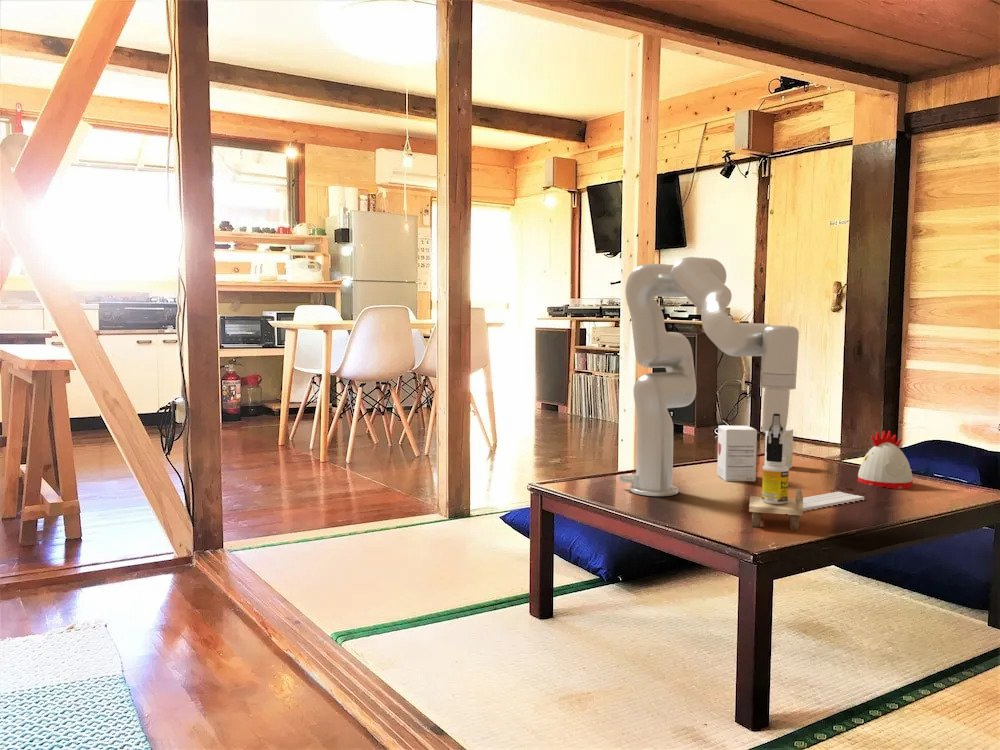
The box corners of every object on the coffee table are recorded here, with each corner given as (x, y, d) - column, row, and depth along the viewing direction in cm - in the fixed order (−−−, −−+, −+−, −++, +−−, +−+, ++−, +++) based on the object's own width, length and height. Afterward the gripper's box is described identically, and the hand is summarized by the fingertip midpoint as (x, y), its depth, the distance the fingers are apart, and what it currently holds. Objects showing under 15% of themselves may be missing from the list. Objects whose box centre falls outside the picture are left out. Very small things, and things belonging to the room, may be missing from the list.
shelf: (748, 527, 176) (749, 495, 176) (749, 516, 187) (750, 485, 186) (802, 531, 173) (803, 499, 172) (799, 519, 183) (800, 489, 183)
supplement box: (716, 475, 237) (717, 424, 236) (746, 475, 237) (747, 425, 236) (724, 481, 228) (726, 429, 227) (756, 481, 228) (757, 429, 227)
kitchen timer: (849, 479, 232) (851, 427, 231) (897, 479, 232) (899, 427, 231) (871, 488, 218) (873, 434, 217) (922, 489, 218) (924, 434, 217)
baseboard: (752, 508, 196) (786, 517, 188) (753, 497, 196) (787, 505, 188) (830, 495, 213) (864, 502, 204) (830, 484, 212) (865, 491, 204)
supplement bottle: (782, 506, 176) (783, 460, 175) (757, 502, 179) (758, 457, 179) (791, 502, 180) (793, 457, 179) (767, 498, 184) (768, 454, 183)
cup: (788, 470, 246) (789, 431, 245) (761, 467, 250) (762, 429, 249) (794, 466, 252) (795, 428, 252) (768, 463, 257) (769, 426, 256)
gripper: (760, 377, 187) (756, 449, 189) (760, 384, 171) (755, 463, 172) (794, 378, 185) (790, 452, 186) (797, 386, 168) (792, 466, 170)
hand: (773, 457), depth 179 cm, fingers open, 9 cm apart
